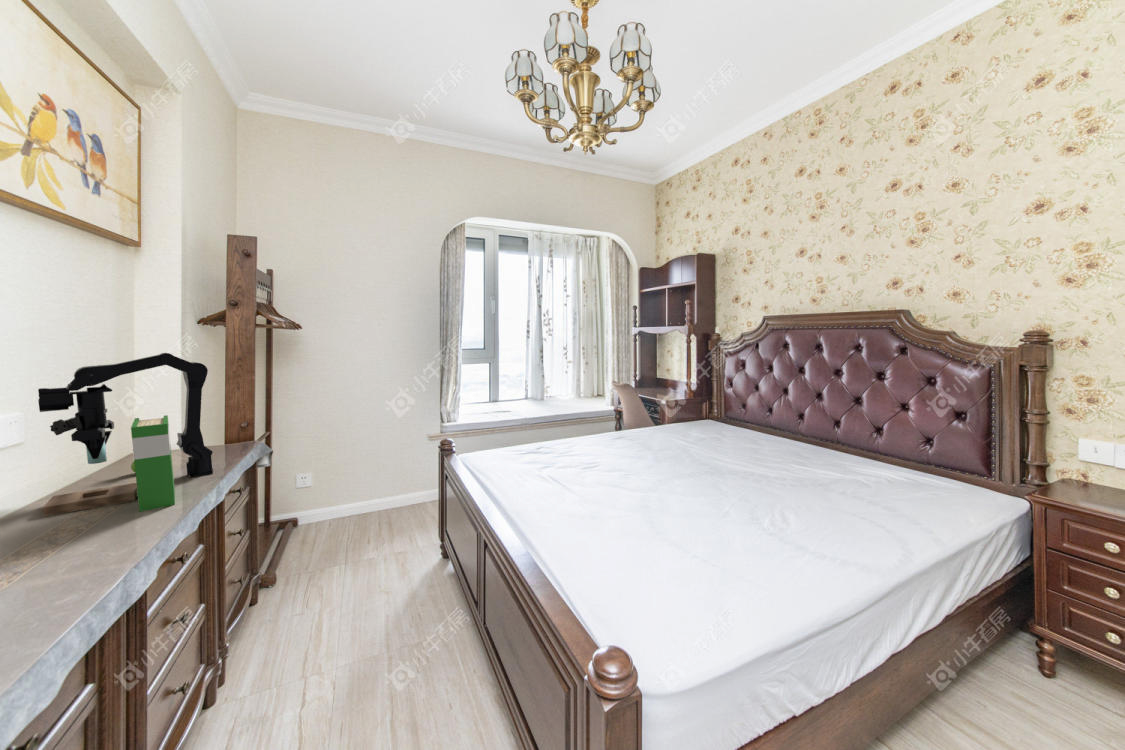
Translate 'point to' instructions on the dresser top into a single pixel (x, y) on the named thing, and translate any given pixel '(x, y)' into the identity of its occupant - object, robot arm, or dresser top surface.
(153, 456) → the hardback book
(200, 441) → the robot arm
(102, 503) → the rail
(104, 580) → the dresser top surface
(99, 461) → the teal peg
